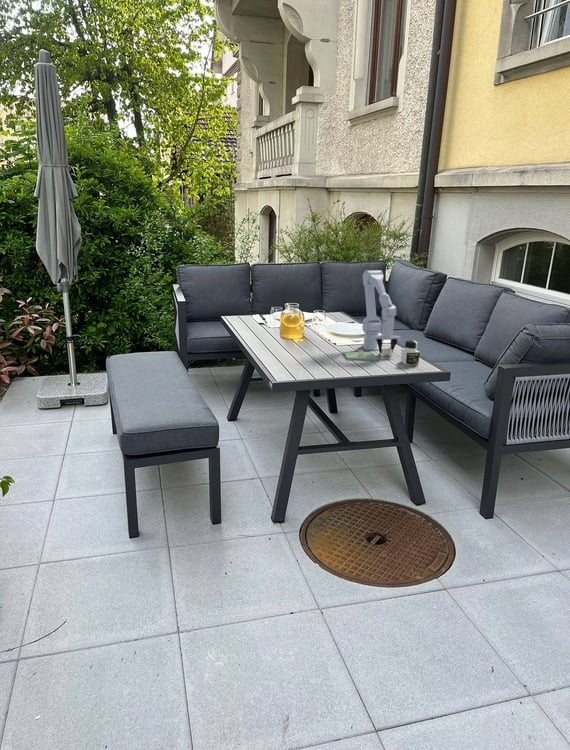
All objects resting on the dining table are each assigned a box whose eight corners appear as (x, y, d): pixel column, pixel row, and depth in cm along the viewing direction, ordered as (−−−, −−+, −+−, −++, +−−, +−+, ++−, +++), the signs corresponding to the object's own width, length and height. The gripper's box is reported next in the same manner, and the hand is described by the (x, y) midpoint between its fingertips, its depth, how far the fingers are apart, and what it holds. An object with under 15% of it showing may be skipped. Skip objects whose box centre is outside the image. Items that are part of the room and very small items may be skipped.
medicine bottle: (405, 365, 292) (407, 342, 289) (400, 361, 299) (402, 339, 295) (418, 365, 294) (420, 342, 290) (412, 361, 300) (415, 339, 297)
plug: (379, 354, 312) (380, 347, 311) (389, 354, 312) (389, 347, 311) (381, 356, 307) (382, 349, 306) (391, 356, 308) (392, 349, 306)
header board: (343, 354, 310) (343, 346, 309) (372, 354, 311) (372, 346, 310) (347, 360, 298) (347, 352, 297) (377, 360, 300) (377, 352, 298)
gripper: (376, 329, 301) (374, 354, 305) (403, 330, 302) (400, 354, 306) (373, 326, 308) (371, 351, 312) (399, 327, 309) (397, 351, 313)
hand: (385, 352), depth 309 cm, fingers closed on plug, 5 cm apart
